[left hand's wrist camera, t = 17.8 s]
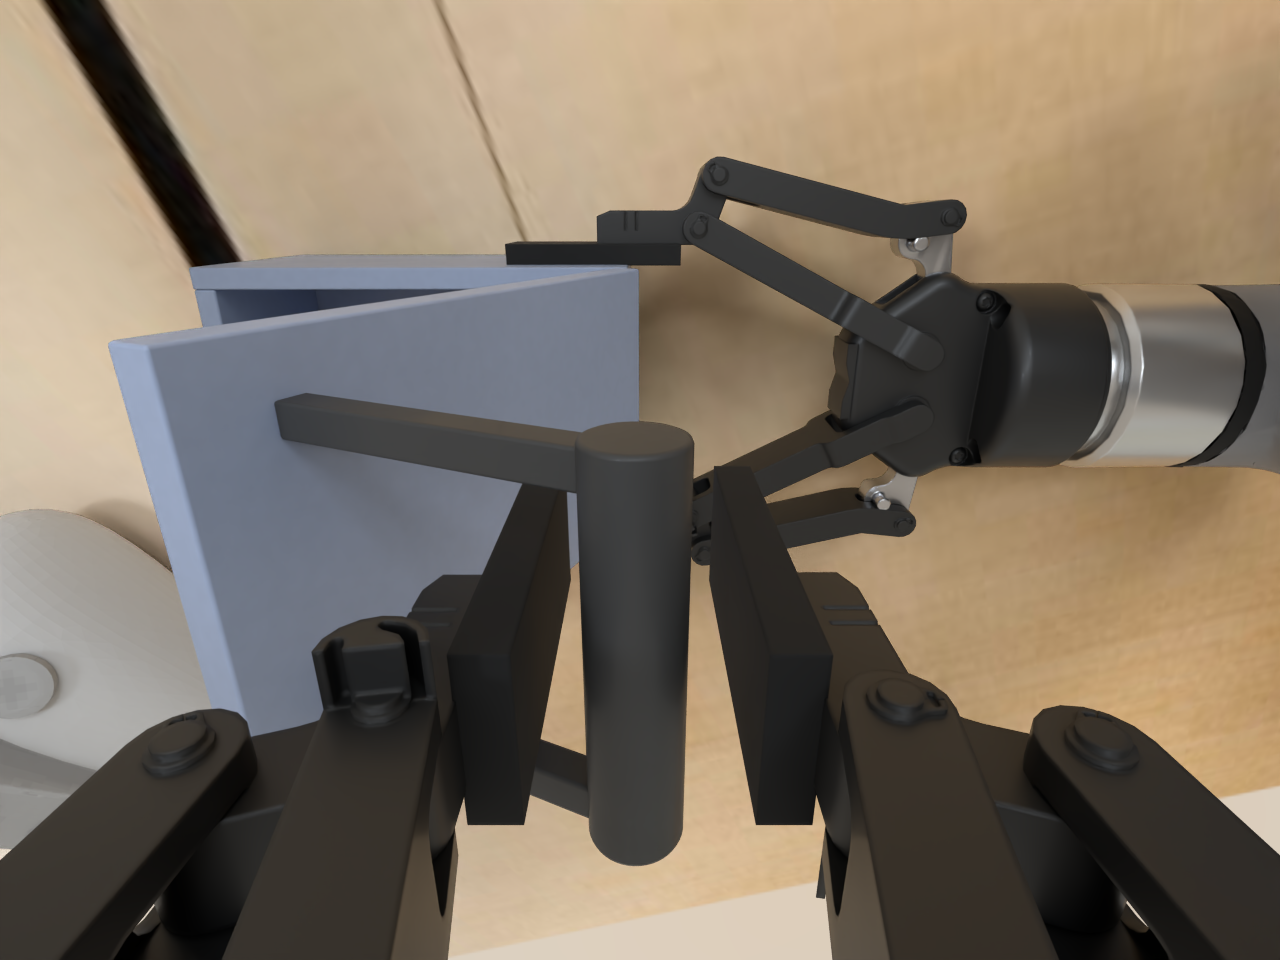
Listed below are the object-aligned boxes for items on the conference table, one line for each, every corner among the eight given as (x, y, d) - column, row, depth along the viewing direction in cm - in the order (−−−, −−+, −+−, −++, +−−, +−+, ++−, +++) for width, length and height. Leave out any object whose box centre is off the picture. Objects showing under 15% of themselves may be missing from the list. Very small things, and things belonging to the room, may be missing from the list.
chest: (333, 438, 35) (243, 503, 27) (301, 254, 32) (187, 267, 24) (631, 437, 35) (629, 502, 27) (630, 254, 32) (627, 267, 24)
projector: (23, 805, 44) (-250, 1066, 31) (-115, 481, 36) (-574, 642, 22) (360, 807, 44) (237, 1069, 31) (300, 485, 36) (95, 647, 22)
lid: (239, 812, 13) (624, 1009, 10) (104, 340, 10) (615, 402, 7) (618, 506, 27) (830, 546, 24) (615, 267, 24) (861, 275, 20)
